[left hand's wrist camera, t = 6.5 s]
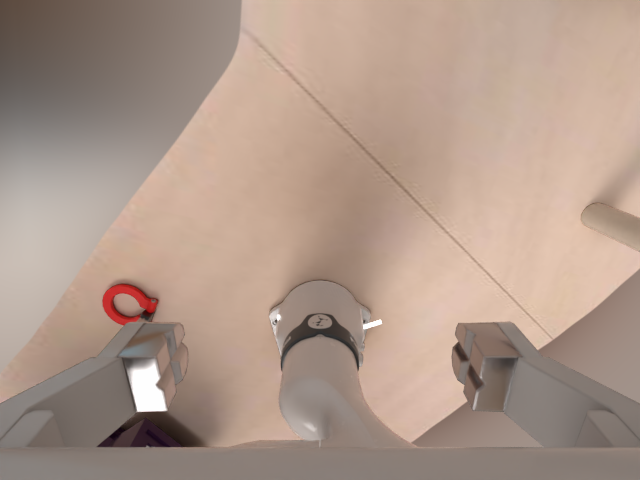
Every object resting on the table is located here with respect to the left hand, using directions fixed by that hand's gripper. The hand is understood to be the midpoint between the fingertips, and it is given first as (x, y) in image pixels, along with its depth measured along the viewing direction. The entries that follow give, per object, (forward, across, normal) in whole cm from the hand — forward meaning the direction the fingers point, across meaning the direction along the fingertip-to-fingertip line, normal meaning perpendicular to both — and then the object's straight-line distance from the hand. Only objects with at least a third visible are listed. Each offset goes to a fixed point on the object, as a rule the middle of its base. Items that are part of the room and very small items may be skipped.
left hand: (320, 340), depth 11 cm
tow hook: (+48, -35, -29) cm, 66 cm away
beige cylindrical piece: (+48, +46, -11) cm, 67 cm away
